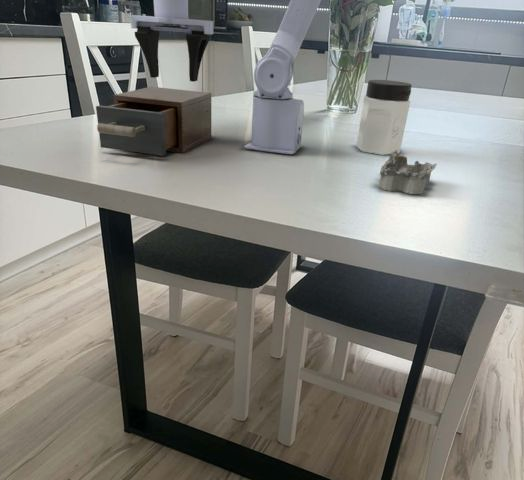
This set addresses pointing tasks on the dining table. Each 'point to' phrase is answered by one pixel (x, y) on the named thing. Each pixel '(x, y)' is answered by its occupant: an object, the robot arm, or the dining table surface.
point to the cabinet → (189, 112)
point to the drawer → (138, 127)
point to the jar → (383, 116)
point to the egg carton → (405, 175)
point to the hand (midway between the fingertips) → (174, 79)
